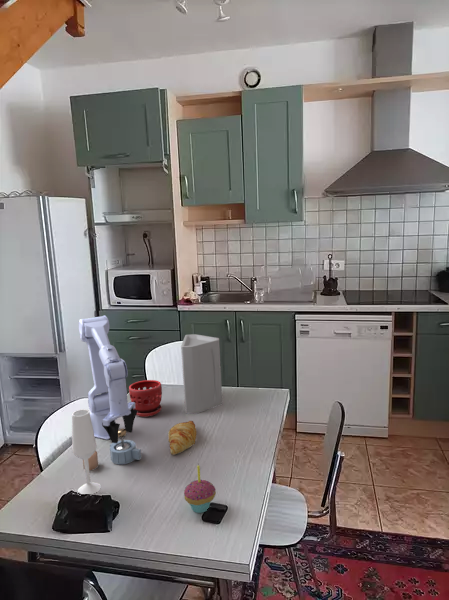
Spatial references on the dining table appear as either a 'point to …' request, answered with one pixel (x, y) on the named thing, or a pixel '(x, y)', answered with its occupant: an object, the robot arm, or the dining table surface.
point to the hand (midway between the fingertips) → (121, 436)
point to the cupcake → (199, 494)
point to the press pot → (124, 453)
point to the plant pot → (146, 397)
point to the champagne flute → (84, 446)
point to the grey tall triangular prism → (201, 373)
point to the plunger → (122, 441)
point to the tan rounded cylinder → (92, 461)
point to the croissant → (182, 437)
